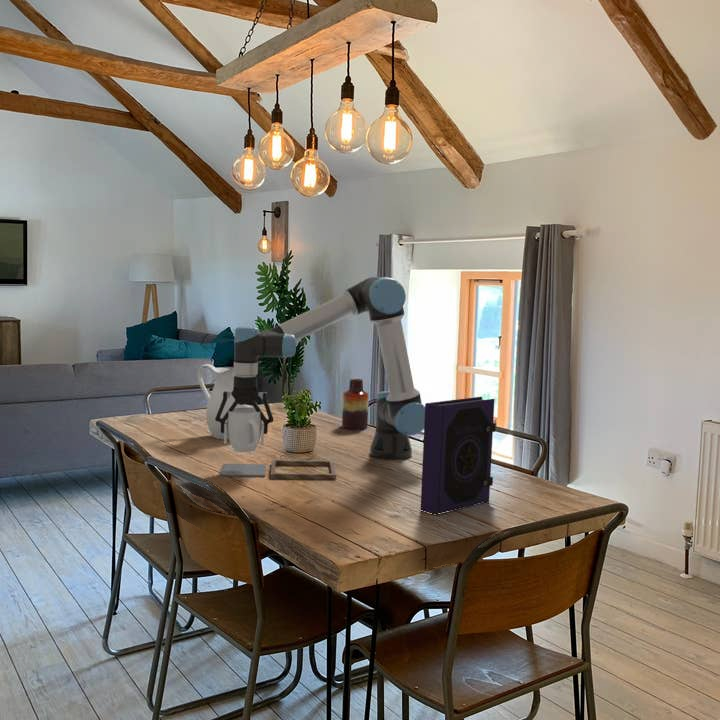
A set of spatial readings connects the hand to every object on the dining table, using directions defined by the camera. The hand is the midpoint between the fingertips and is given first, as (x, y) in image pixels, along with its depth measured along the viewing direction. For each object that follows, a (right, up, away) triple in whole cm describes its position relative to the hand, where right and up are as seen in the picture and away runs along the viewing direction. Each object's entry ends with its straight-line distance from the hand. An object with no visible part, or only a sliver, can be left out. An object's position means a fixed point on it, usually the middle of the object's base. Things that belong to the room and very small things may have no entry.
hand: (244, 443), depth 247 cm
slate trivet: (0, -9, +1) cm, 9 cm away
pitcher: (-17, -3, +53) cm, 56 cm away
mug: (0, -3, 0) cm, 3 cm away
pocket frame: (+19, -9, +3) cm, 21 cm away
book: (+64, -15, -30) cm, 72 cm away
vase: (+35, -2, +80) cm, 87 cm away
